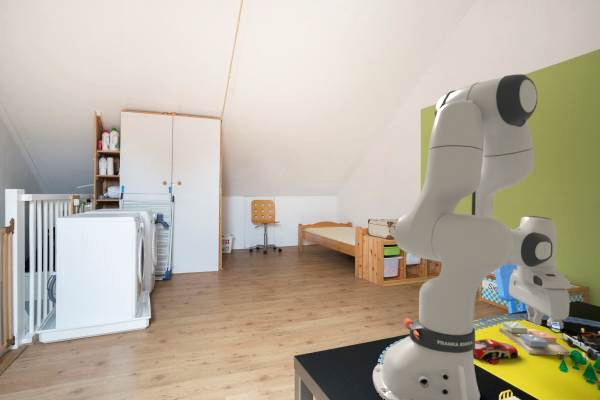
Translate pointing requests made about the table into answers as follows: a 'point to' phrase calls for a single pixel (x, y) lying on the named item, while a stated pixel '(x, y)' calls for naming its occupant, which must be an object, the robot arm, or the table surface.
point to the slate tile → (534, 340)
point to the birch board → (550, 350)
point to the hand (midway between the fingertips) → (534, 322)
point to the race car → (494, 350)
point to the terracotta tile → (544, 336)
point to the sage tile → (515, 327)
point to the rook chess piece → (555, 321)
